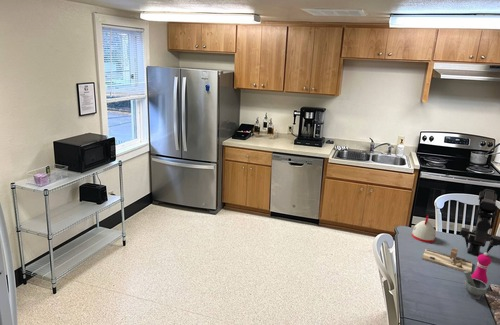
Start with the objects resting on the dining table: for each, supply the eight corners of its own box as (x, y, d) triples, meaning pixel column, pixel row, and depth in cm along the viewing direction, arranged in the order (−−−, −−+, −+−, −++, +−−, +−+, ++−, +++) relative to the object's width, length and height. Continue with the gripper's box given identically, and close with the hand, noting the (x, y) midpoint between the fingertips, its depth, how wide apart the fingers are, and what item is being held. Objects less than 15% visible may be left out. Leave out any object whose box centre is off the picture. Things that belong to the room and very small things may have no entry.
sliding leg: (450, 254, 216) (452, 247, 215) (456, 256, 215) (457, 249, 213) (448, 262, 207) (450, 255, 206) (454, 264, 206) (456, 256, 204)
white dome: (435, 236, 242) (440, 215, 238) (433, 244, 231) (437, 223, 227) (413, 230, 249) (417, 210, 245) (410, 238, 238) (414, 217, 234)
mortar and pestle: (485, 294, 183) (491, 274, 180) (483, 304, 176) (489, 282, 172) (460, 286, 189) (465, 265, 186) (457, 294, 182) (462, 273, 179)
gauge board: (425, 249, 224) (426, 246, 223) (472, 263, 211) (473, 260, 210) (422, 259, 214) (422, 255, 213) (470, 273, 201) (471, 270, 200)
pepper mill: (487, 291, 185) (497, 257, 180) (472, 289, 187) (481, 255, 181) (482, 283, 192) (490, 250, 187) (467, 281, 194) (475, 248, 188)
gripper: (462, 224, 190) (456, 250, 195) (504, 234, 181) (497, 262, 185) (463, 217, 199) (457, 242, 204) (504, 226, 190) (497, 253, 194)
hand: (476, 250), depth 197 cm, fingers open, 9 cm apart
